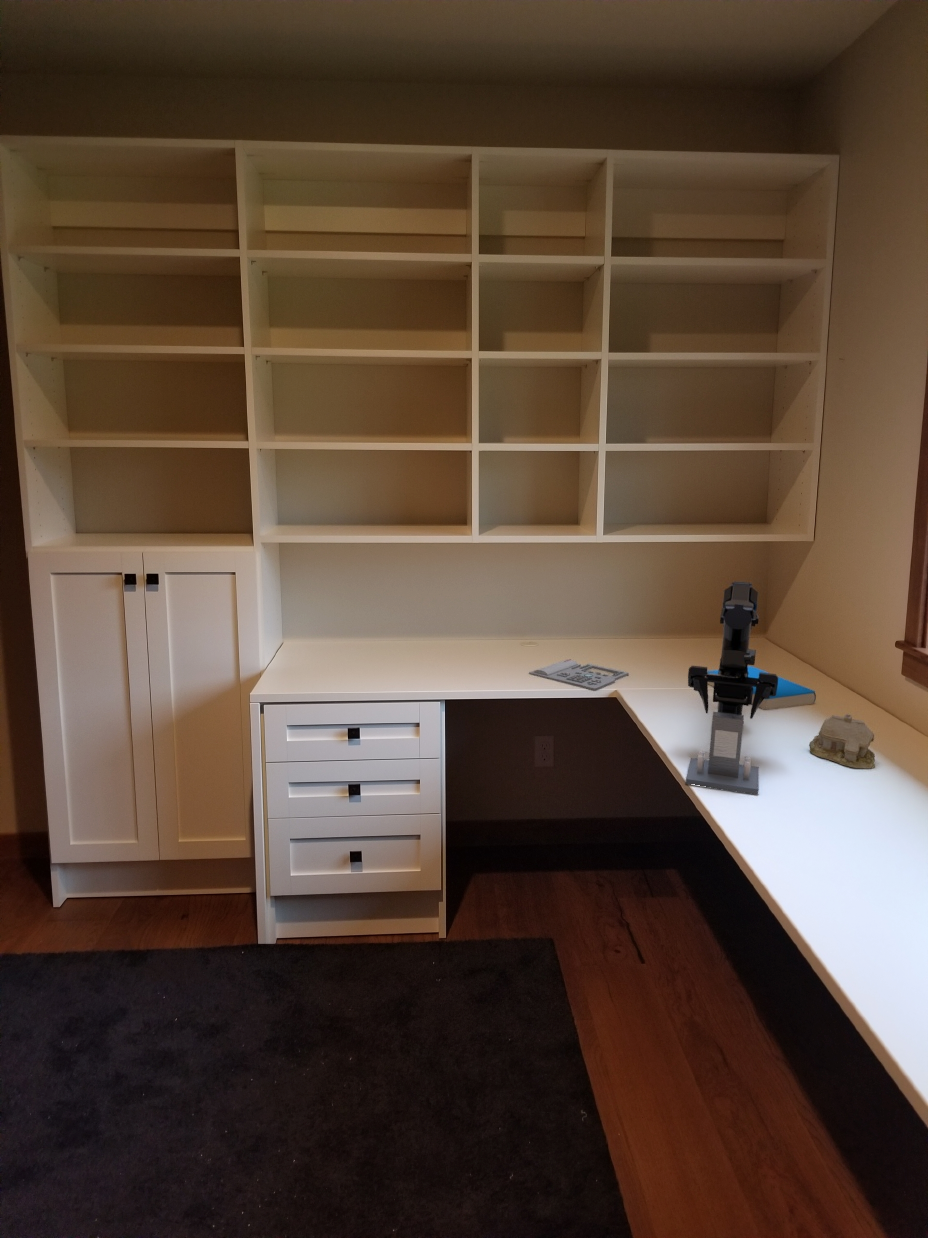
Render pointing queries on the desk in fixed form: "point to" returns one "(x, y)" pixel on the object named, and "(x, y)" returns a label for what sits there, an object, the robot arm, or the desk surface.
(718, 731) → the block
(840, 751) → the ceramic model
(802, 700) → the book
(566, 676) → the office telephone
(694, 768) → the grey pegged stand
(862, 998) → the desk surface
